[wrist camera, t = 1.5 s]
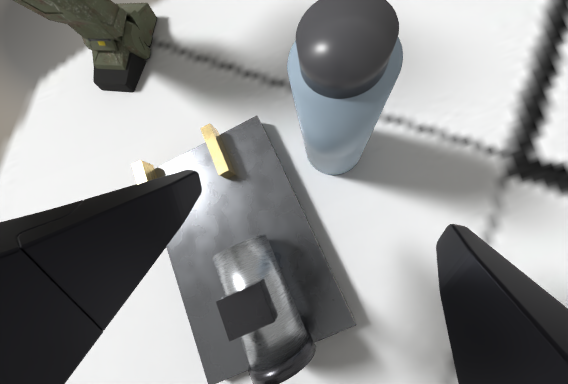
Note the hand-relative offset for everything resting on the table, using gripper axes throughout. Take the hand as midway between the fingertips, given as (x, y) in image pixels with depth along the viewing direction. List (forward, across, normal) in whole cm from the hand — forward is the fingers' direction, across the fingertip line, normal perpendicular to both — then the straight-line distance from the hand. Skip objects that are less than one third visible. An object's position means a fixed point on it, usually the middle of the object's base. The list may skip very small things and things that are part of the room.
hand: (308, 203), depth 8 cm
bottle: (+14, 0, +4) cm, 15 cm away
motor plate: (+7, +7, +12) cm, 15 cm away
